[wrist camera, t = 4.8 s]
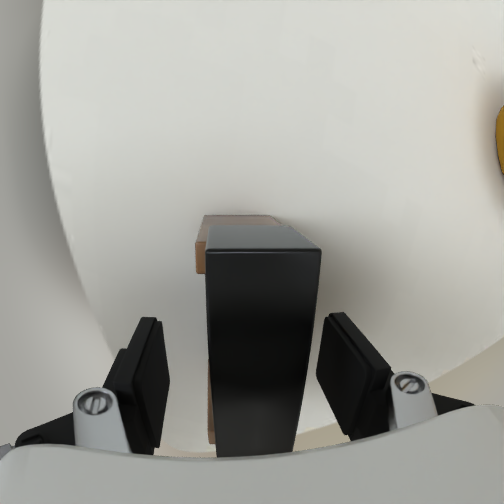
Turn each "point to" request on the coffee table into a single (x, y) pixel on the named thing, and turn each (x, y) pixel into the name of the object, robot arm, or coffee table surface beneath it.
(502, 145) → the apple
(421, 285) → the coffee table surface
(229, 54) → the coffee table surface
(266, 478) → the robot arm
